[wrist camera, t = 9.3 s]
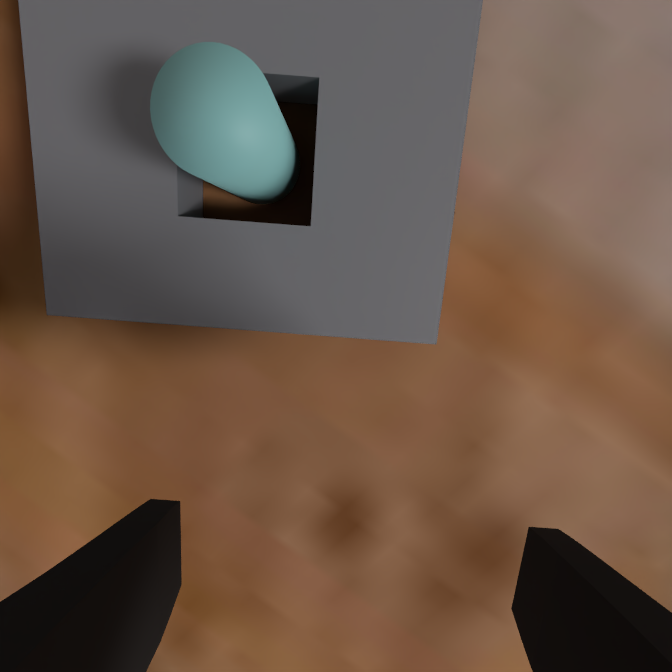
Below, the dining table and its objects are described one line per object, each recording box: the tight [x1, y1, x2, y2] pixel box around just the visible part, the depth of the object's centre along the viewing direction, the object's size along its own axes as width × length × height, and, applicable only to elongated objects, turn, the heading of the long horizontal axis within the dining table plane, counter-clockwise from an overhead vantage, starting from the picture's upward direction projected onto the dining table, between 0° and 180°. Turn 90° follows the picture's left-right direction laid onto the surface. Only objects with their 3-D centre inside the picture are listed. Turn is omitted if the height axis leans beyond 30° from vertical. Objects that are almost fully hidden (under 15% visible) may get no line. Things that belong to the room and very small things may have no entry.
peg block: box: [18, 0, 483, 344], centre depth 14 cm, size 14×12×2 cm
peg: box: [150, 42, 300, 204], centre depth 12 cm, size 3×3×6 cm
